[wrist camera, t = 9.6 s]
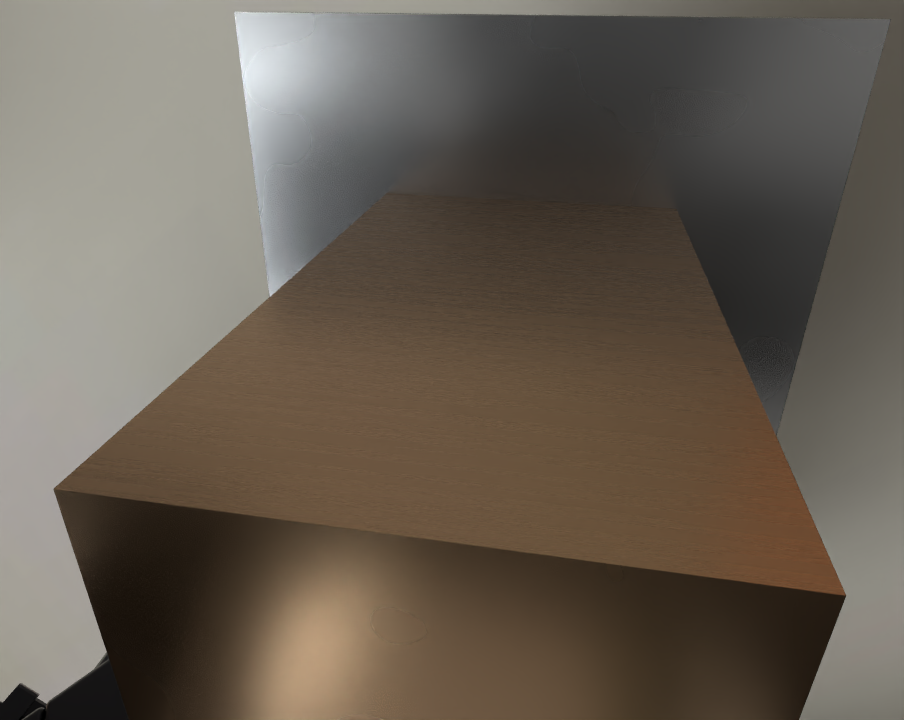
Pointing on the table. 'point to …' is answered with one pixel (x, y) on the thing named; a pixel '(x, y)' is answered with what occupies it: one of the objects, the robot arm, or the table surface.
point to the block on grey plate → (496, 382)
